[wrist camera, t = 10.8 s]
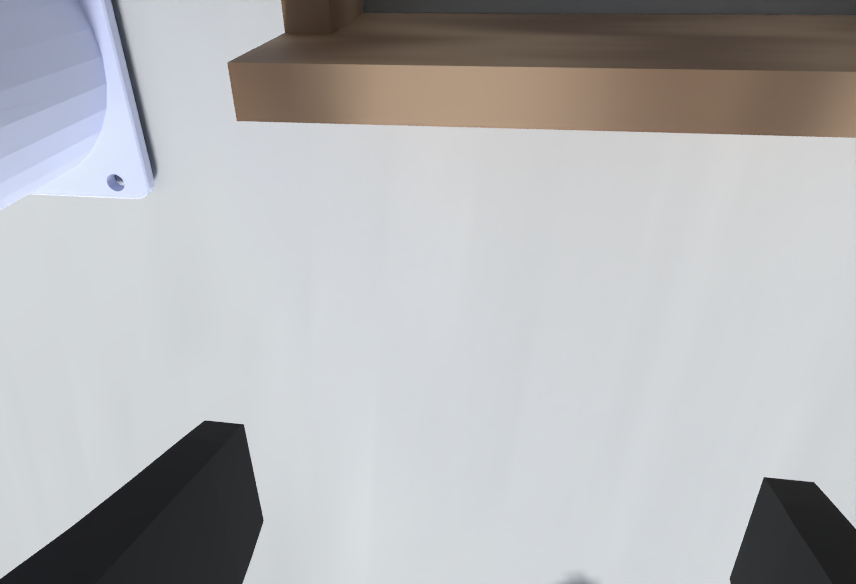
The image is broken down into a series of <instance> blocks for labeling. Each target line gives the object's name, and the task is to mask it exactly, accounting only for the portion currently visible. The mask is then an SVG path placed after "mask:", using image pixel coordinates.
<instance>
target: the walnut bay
mask: <svg viewBox="0 0 856 584" xmlns="http://www.w3.org/2000/svg"><path fill="white" fill-rule="evenodd" d="M281 2H282V11H283V19H284V28H285V33H284V34H282V35H280V36H278V37H276V38H274V39H272V40H270V41H268V42H267V43H265V44H263V45H261V46H259V47H257V48H255V49H253V50H251V51H249V52H247V53H245V54H243V55H241V56H239V57H237V58H235V59H233V60H231V61H230V62H228V69H229V75H230V82H231V88H232V94H233V100H234V106H235V112H236V118H237V121H260V122H297V123H334V124H371V125H408V126H445V127H482V128H519V129H556V130H593V131H630V132H667V133H704V134H741V135H778V136H815V137H852V138H856V15H756V14H526V13H364V4H363V0H281Z"/></svg>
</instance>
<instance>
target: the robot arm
mask: <svg viewBox="0 0 856 584" xmlns="http://www.w3.org/2000/svg"><path fill="white" fill-rule="evenodd" d="M114 174H115V175H118V176H119V177H120V178H122V180H123V182H124V186H122V185H120V184H119V183H117V181H116V180H115V178H114ZM153 187H154V178H153V174H152V170H151V165H150V161H149V157H148V153H147V149H146V145H145V140H144V136H143V132H142V128H141V124H140V120H139V116H138V111H137V107H136V103H135V99H134V95H133V91H132V86H131V82H130V78H129V74H128V70H127V66H126V61H125V57H124V53H123V49H122V45H121V41H120V36H119V32H118V28H117V24H116V20H115V16H114V11H113V7H112V3H111V0H0V210H2V209H4V208H5V207H7V206H9V205H11V204H12V203H14V202H16V201H18V200H19V199H21V198H23V197H25V196H26V195H28V194H36V195H58V196H81V197H104V198H126V199H140V198H143V197H145V196H146V195H147V194H149V193H150V192H151V191H152V190H153ZM262 524H263V516H262V511H261V506H260V501H259V496H258V492H257V487H256V482H255V477H254V472H253V467H252V462H251V458H250V453H249V448H248V443H247V438H246V433H245V428H244V424H234V423H224V422H214V421H204V422H202V423H201V424H200V425H199V426H197V427H196V428H195V429H193V430H192V431H191V432H190V433H188V434H187V435H186V436H185V437H183V438H182V439H181V440H180V441H178V442H177V443H176V444H175V445H173V446H172V447H171V448H170V449H168V450H167V451H166V452H165V453H164V454H162V455H161V456H160V457H159V458H157V459H156V460H155V461H154V462H152V463H151V464H150V465H149V466H148V467H146V468H145V469H144V470H143V471H141V472H140V473H139V474H138V475H136V476H135V477H134V478H133V479H132V480H130V481H129V482H128V483H127V484H125V485H124V486H123V487H121V488H120V489H119V490H118V491H116V492H115V493H114V494H113V495H111V496H110V497H109V498H108V499H106V500H105V501H104V502H103V503H101V504H100V505H99V506H97V507H96V508H95V509H94V510H92V511H91V512H90V513H89V514H87V515H86V516H85V517H84V518H82V519H81V520H80V521H78V522H77V523H76V524H75V525H73V526H72V527H71V528H69V529H68V530H67V531H65V532H64V533H63V534H61V535H60V536H58V537H57V538H56V539H54V540H53V541H52V542H50V543H49V544H48V545H46V546H45V547H43V548H42V549H41V550H39V551H38V552H37V553H35V554H34V555H33V556H31V557H30V558H28V559H27V560H26V561H24V562H23V563H22V564H20V565H19V566H18V567H16V568H15V569H13V570H12V571H11V572H9V573H8V574H7V575H5V576H4V577H3V578H1V579H0V584H242V583H243V580H244V577H245V574H246V572H247V569H248V566H249V563H250V560H251V558H252V555H253V552H254V548H255V545H256V542H257V539H258V536H259V533H260V530H261V527H262ZM730 582H731V584H856V529H855V528H854V527H853V525H852V524H851V523H850V522H849V521H848V520H847V519H846V518H845V516H844V515H843V514H842V513H841V512H840V511H839V510H838V508H837V507H836V506H835V505H834V504H833V503H832V502H831V501H830V499H829V498H828V497H827V496H826V495H825V494H824V493H823V492H822V491H821V490H820V488H819V487H818V486H817V485H816V484H815V483H814V482H805V481H795V480H785V479H776V478H766V477H764V479H763V482H762V485H761V488H760V491H759V494H758V497H757V499H756V502H755V505H754V508H753V511H752V514H751V517H750V520H749V523H748V526H747V529H746V532H745V535H744V538H743V541H742V544H741V547H740V550H739V553H738V556H737V559H736V562H735V565H734V568H733V570H732V573H731V576H730Z"/></svg>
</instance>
